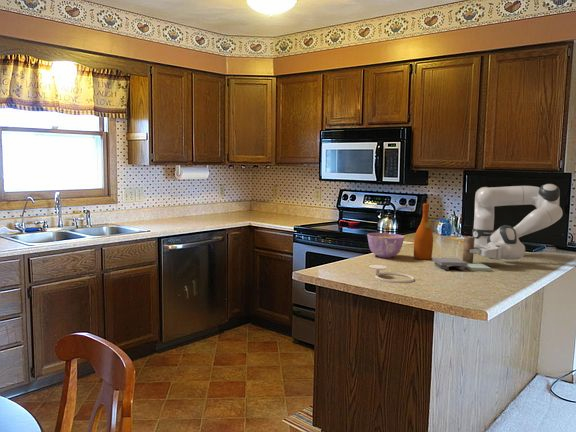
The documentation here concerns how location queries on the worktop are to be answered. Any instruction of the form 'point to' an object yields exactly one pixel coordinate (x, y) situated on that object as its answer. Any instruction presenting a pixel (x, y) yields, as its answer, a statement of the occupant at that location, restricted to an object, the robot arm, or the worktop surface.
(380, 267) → the hand towel holder
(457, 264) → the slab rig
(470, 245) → the walnut roller
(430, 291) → the worktop surface
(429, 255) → the wine bottle
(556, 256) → the worktop surface
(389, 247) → the bowl of food
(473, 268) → the board
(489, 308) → the worktop surface
